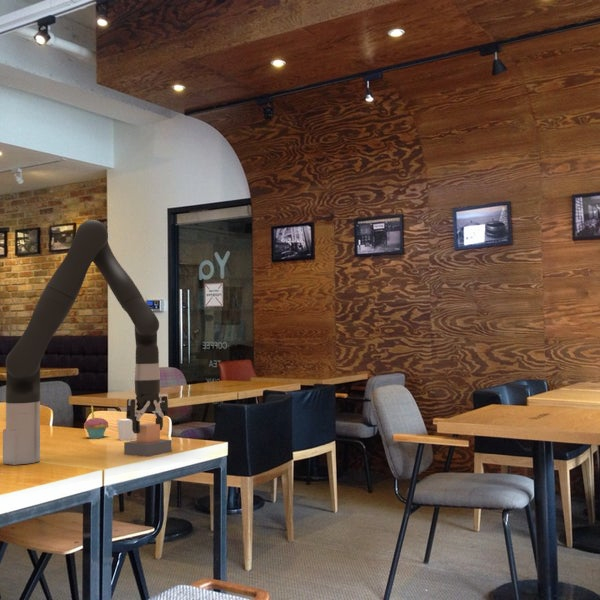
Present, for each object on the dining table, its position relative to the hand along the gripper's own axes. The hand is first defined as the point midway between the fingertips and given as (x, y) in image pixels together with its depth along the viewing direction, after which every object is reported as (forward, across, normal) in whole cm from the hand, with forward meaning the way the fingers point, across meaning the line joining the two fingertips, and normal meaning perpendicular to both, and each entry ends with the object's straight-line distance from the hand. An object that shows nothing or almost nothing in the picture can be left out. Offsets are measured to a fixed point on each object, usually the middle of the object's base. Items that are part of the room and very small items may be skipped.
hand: (148, 431), depth 211 cm
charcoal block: (+7, 0, 0) cm, 7 cm away
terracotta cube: (+3, 0, 0) cm, 3 cm away
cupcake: (+7, +13, +45) cm, 47 cm away
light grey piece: (+7, +16, +31) cm, 36 cm away
